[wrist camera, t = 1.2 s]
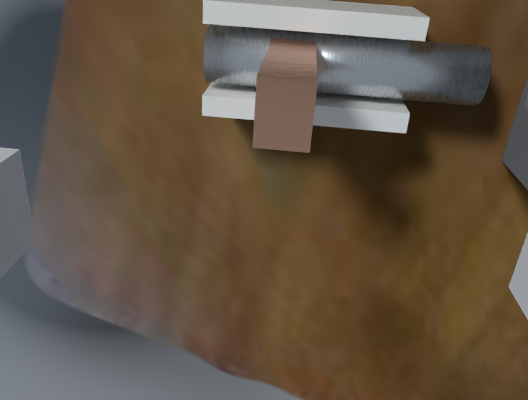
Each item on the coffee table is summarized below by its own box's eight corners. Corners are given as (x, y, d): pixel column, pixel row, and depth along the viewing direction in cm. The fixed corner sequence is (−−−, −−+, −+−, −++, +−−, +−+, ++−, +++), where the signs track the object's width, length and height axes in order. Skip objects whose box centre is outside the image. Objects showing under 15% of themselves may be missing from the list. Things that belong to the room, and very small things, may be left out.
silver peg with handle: (214, 20, 31) (160, 62, 20) (478, 41, 30) (576, 97, 19) (213, 75, 32) (163, 144, 21) (464, 96, 32) (547, 179, 21)
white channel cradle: (218, -9, 31) (203, -1, 27) (412, 6, 31) (430, 17, 26) (216, 93, 34) (202, 115, 30) (393, 108, 34) (406, 133, 29)
